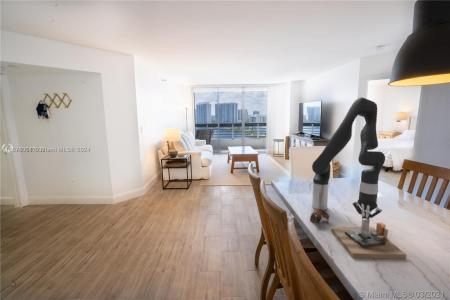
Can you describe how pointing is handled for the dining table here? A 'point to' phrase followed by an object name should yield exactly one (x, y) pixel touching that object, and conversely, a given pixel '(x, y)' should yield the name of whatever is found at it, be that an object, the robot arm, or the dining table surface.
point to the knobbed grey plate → (372, 236)
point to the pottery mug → (318, 216)
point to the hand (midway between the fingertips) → (365, 223)
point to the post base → (372, 251)
